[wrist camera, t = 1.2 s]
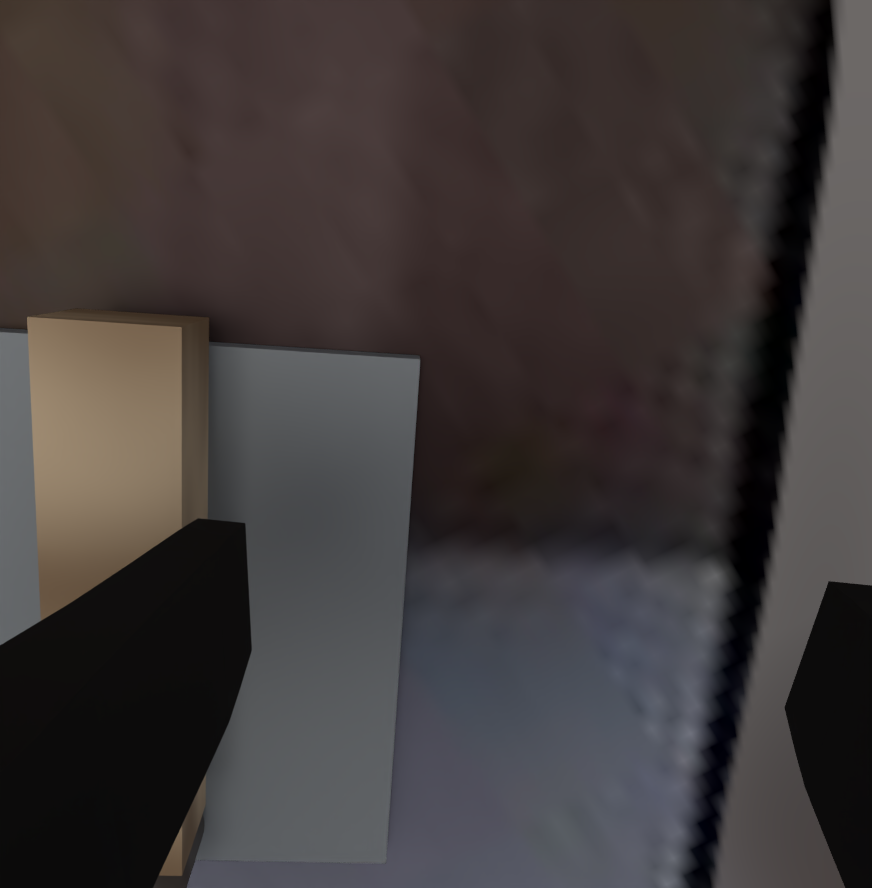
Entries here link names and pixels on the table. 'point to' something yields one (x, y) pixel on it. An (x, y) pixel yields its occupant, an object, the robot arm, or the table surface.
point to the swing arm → (117, 460)
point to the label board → (282, 585)
